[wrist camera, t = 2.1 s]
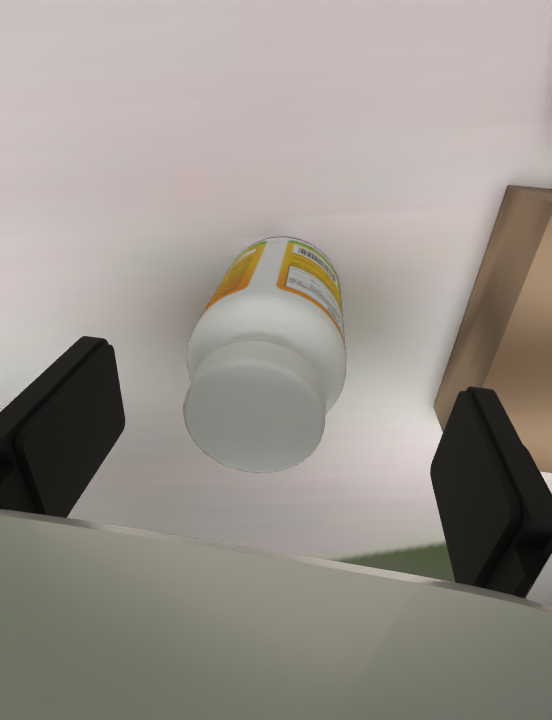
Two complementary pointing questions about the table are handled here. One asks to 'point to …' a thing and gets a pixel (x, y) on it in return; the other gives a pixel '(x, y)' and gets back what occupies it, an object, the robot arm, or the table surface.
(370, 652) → the robot arm
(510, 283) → the base block
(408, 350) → the table surface
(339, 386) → the supplement bottle
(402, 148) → the table surface
